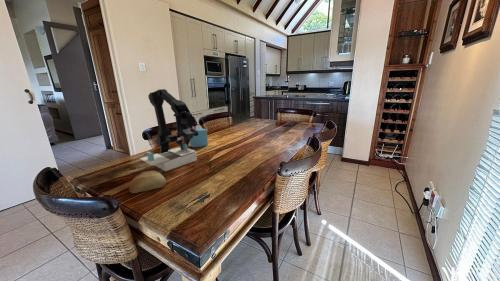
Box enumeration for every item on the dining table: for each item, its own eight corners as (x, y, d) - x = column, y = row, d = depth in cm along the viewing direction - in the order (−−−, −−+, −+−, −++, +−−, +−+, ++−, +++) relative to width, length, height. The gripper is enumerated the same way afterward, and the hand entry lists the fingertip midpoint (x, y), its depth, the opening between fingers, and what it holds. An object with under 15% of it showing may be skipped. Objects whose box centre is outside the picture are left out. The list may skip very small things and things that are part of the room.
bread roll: (129, 189, 94) (125, 173, 91) (164, 180, 101) (161, 165, 99) (130, 199, 86) (127, 181, 83) (168, 188, 93) (166, 172, 91)
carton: (152, 164, 120) (151, 156, 119) (183, 154, 135) (182, 147, 133) (165, 171, 111) (164, 162, 109) (196, 160, 125) (196, 152, 124)
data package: (207, 144, 156) (205, 128, 153) (207, 145, 152) (206, 129, 149) (190, 145, 153) (188, 130, 149) (191, 147, 149) (189, 131, 145)
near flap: (140, 159, 114) (138, 151, 113) (157, 154, 121) (155, 147, 120) (151, 165, 105) (150, 157, 104) (169, 160, 112) (168, 152, 111)
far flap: (168, 151, 126) (167, 144, 125) (182, 147, 133) (181, 140, 132) (181, 156, 117) (180, 148, 116) (195, 151, 124) (194, 144, 123)
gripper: (174, 129, 110) (177, 156, 114) (202, 123, 123) (205, 147, 128) (163, 126, 117) (167, 152, 121) (192, 121, 130) (194, 144, 135)
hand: (184, 149), depth 126 cm, fingers open, 3 cm apart
